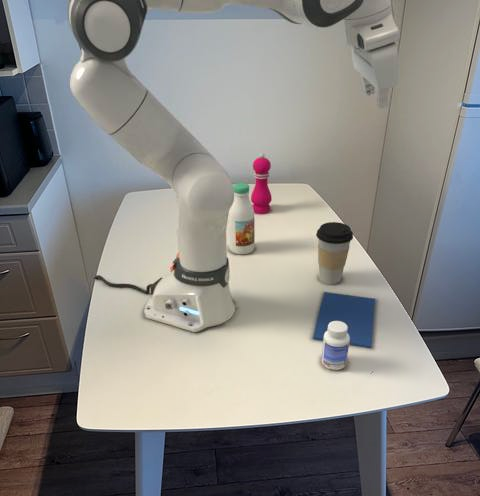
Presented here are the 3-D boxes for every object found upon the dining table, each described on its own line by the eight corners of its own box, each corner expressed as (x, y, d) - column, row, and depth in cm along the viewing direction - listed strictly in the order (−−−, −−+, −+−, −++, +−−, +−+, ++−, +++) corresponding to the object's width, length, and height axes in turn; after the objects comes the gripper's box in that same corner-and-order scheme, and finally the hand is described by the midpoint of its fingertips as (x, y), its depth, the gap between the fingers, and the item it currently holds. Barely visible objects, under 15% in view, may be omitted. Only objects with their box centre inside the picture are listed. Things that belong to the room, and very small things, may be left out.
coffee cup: (346, 289, 130) (353, 238, 121) (310, 285, 131) (315, 235, 122) (347, 271, 137) (354, 222, 128) (313, 268, 139) (318, 219, 130)
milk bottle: (226, 253, 147) (224, 189, 135) (232, 242, 153) (231, 179, 141) (251, 256, 145) (251, 191, 133) (256, 244, 151) (257, 181, 140)
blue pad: (313, 339, 112) (313, 337, 112) (324, 293, 128) (324, 291, 128) (370, 348, 110) (371, 346, 109) (374, 300, 125) (375, 298, 125)
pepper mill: (248, 207, 175) (248, 151, 163) (267, 205, 176) (268, 149, 165) (254, 215, 169) (255, 157, 157) (274, 213, 171) (276, 155, 159)
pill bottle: (350, 368, 104) (355, 332, 98) (326, 372, 103) (330, 335, 97) (340, 352, 108) (345, 317, 103) (317, 356, 108) (321, 320, 102)
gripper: (340, 24, 103) (349, 91, 112) (367, 43, 87) (375, 119, 96) (370, 14, 102) (376, 82, 111) (402, 32, 87) (407, 109, 95)
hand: (376, 100), depth 103 cm, fingers open, 8 cm apart
